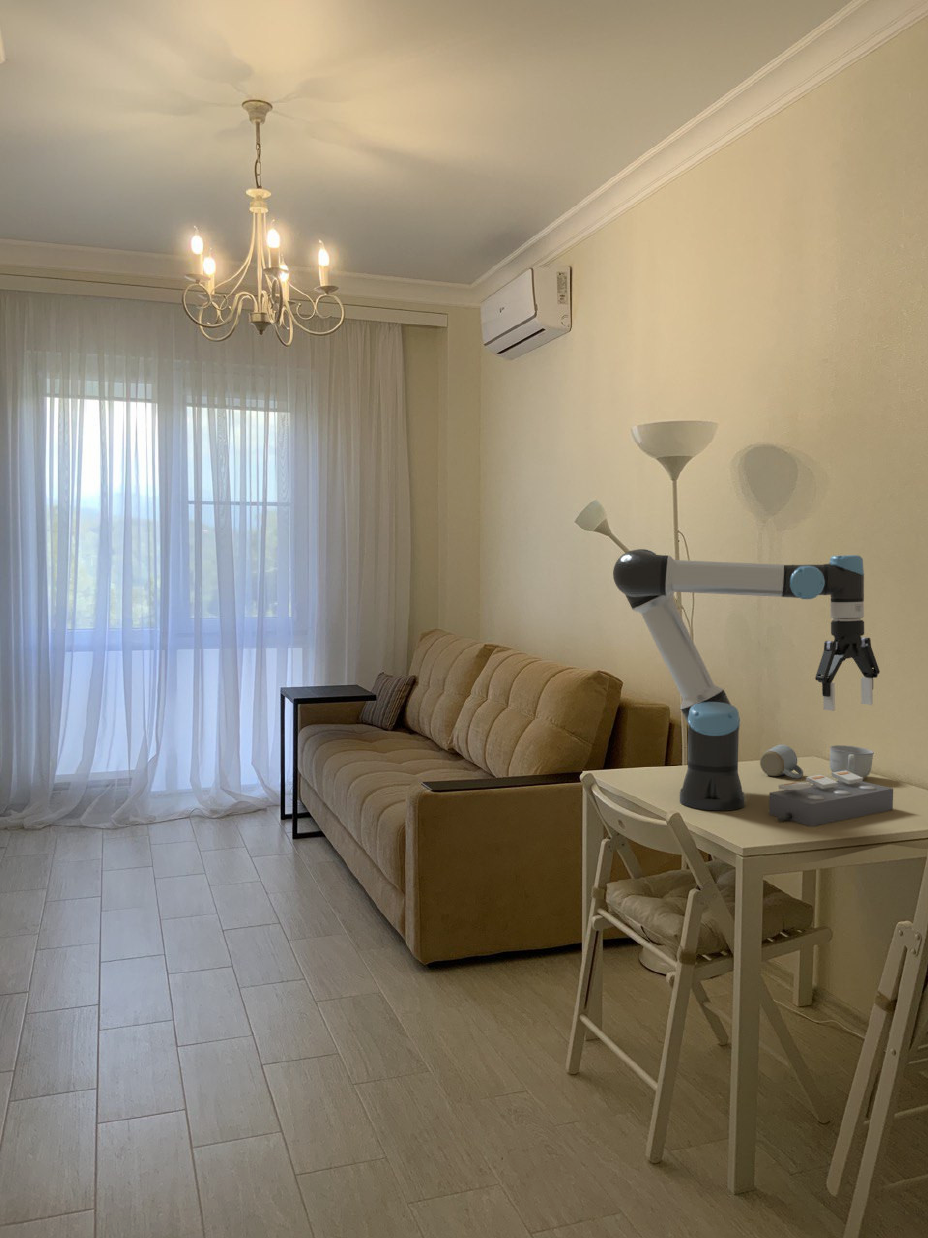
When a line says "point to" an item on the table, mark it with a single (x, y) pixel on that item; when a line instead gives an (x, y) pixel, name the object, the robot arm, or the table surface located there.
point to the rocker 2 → (821, 781)
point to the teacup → (851, 760)
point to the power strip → (830, 803)
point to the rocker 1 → (794, 786)
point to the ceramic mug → (780, 762)
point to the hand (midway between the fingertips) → (848, 707)
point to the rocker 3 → (847, 777)
